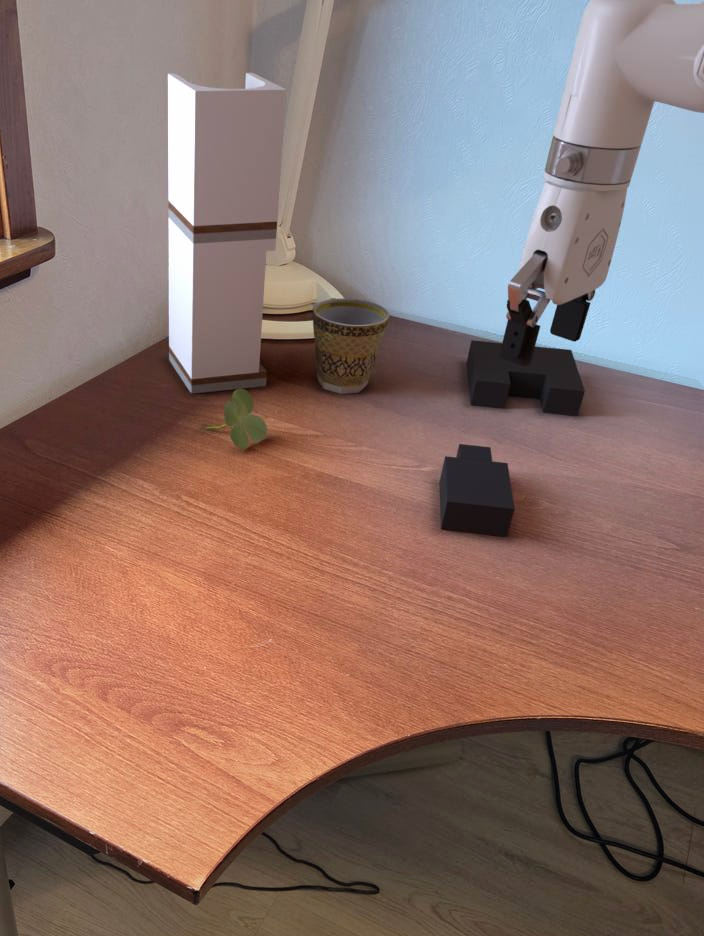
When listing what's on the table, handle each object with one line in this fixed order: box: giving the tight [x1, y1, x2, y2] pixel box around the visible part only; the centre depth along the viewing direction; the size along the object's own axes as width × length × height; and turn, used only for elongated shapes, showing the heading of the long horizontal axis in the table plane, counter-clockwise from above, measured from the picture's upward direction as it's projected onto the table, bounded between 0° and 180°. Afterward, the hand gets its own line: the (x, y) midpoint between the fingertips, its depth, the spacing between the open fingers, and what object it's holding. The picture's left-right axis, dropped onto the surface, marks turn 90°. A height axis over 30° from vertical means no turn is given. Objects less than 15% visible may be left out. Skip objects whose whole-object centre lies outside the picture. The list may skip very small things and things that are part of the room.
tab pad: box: [438, 443, 515, 538], centre depth 100 cm, size 7×13×4 cm, turn 170°
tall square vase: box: [167, 72, 287, 395], centre depth 114 cm, size 11×11×35 cm
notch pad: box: [465, 340, 586, 417], centre depth 124 cm, size 14×14×4 cm
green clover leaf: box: [205, 388, 268, 450], centre depth 111 cm, size 7×8×6 cm
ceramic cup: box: [312, 297, 390, 395], centre depth 122 cm, size 13×10×10 cm
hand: (539, 349), depth 91 cm, fingers open, 9 cm apart
